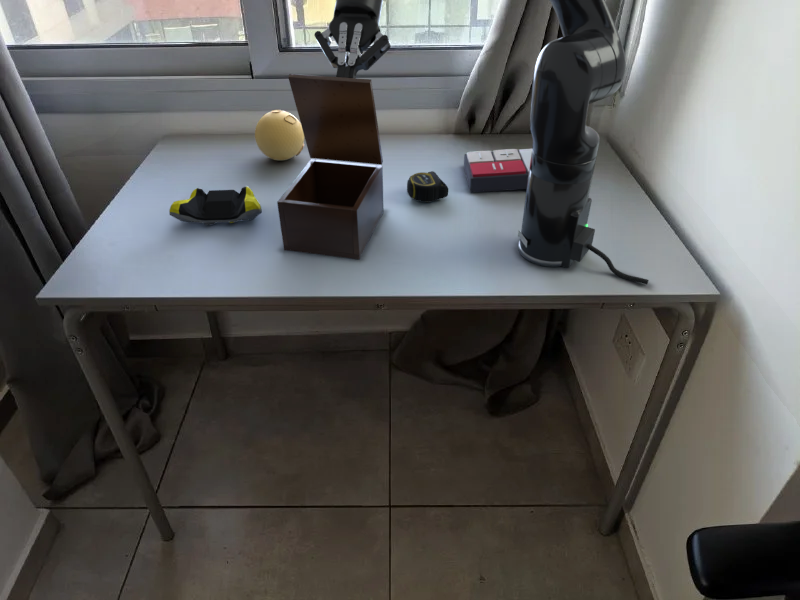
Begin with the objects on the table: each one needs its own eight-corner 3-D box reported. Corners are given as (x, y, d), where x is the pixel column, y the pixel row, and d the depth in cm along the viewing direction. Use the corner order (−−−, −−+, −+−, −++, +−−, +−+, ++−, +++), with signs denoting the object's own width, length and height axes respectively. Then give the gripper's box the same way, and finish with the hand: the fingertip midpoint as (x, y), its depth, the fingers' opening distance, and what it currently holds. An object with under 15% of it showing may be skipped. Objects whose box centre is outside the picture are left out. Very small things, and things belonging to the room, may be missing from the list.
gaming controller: (262, 233, 105) (268, 204, 113) (257, 204, 102) (264, 177, 110) (172, 236, 104) (184, 207, 112) (164, 207, 101) (177, 179, 109)
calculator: (463, 149, 123) (539, 144, 123) (463, 169, 125) (537, 165, 125) (470, 174, 114) (552, 169, 114) (470, 195, 117) (549, 190, 116)
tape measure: (449, 202, 113) (450, 184, 111) (413, 208, 112) (414, 189, 109) (436, 186, 118) (436, 168, 116) (402, 191, 117) (402, 173, 115)
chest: (359, 259, 99) (356, 210, 93) (283, 250, 101) (276, 201, 95) (383, 211, 111) (382, 165, 105) (315, 204, 113) (311, 158, 108)
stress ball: (298, 170, 124) (293, 121, 118) (251, 167, 126) (244, 119, 119) (312, 149, 132) (307, 103, 126) (267, 147, 133) (261, 101, 127)
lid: (370, 82, 91) (371, 79, 91) (288, 77, 93) (289, 73, 94) (382, 164, 105) (383, 161, 105) (310, 158, 107) (311, 154, 108)
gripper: (316, -25, 99) (297, 77, 97) (396, -22, 97) (378, 82, 95) (328, 4, 107) (311, 99, 105) (403, 7, 104) (387, 104, 102)
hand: (343, 91), depth 100 cm, fingers closed
